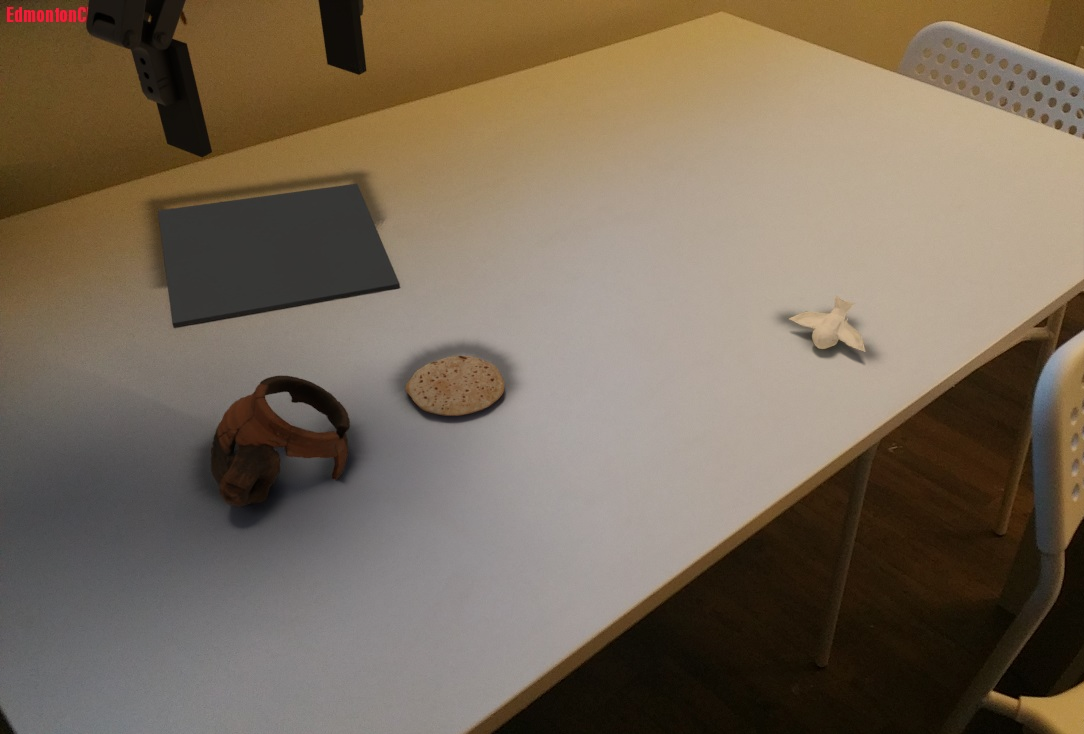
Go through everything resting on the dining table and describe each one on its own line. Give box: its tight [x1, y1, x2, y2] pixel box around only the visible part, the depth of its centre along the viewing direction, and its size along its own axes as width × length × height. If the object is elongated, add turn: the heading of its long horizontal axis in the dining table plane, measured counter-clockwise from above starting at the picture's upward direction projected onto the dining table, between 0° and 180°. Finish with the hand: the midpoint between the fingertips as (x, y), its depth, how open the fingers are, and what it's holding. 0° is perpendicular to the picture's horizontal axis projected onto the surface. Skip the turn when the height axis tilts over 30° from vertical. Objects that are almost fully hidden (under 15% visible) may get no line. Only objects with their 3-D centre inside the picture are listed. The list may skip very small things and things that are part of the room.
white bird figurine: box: [788, 295, 866, 353], centre depth 92 cm, size 8×5×5 cm, turn 57°
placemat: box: [157, 183, 401, 328], centre depth 97 cm, size 20×20×1 cm
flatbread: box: [404, 354, 505, 417], centre depth 83 cm, size 8×8×1 cm
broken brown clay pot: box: [210, 375, 351, 508], centre depth 73 cm, size 12×10×8 cm
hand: (274, 105), depth 62 cm, fingers open, 13 cm apart
